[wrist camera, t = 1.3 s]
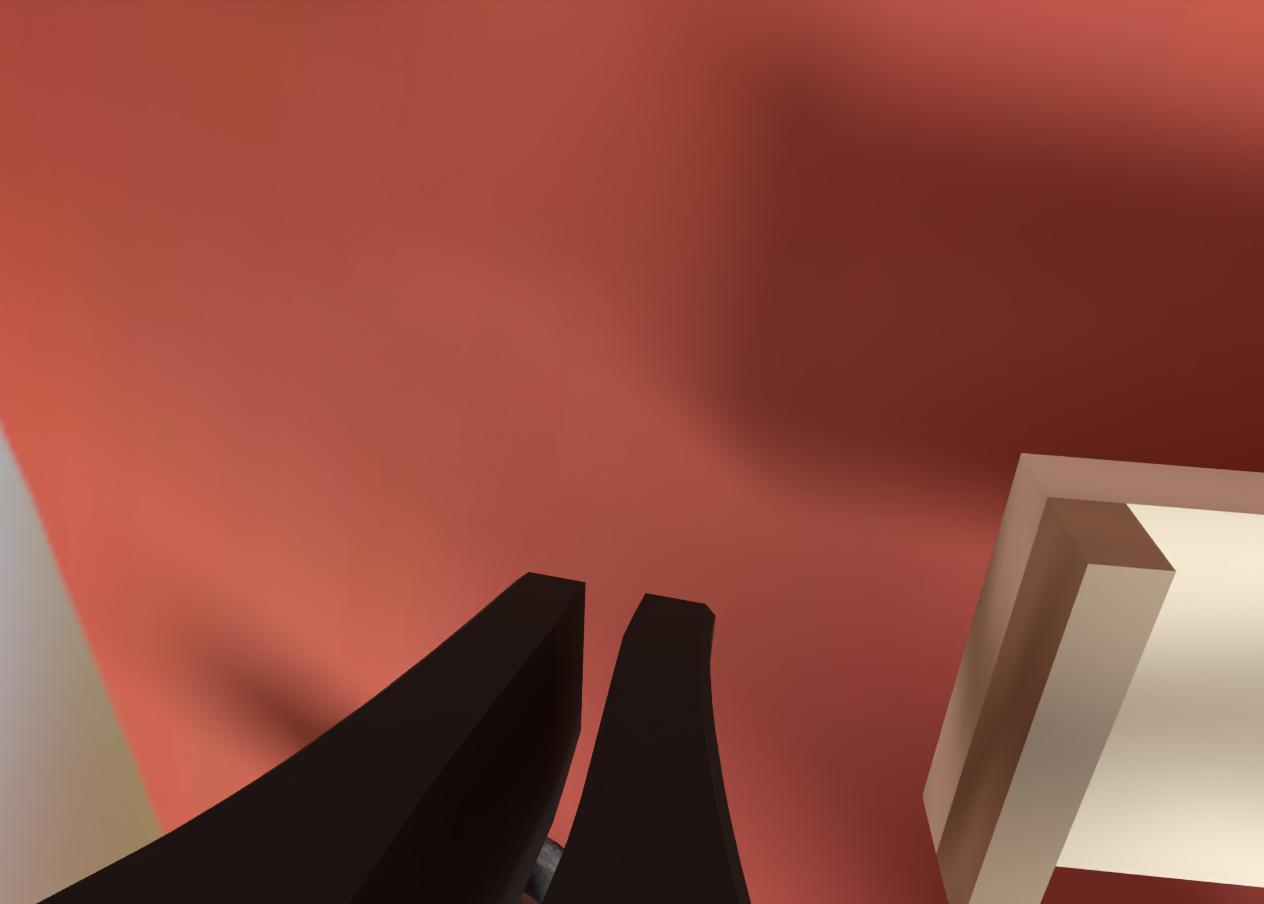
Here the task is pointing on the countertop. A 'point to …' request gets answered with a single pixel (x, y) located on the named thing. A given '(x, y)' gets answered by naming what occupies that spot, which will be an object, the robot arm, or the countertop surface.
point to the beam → (1109, 685)
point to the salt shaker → (542, 873)
